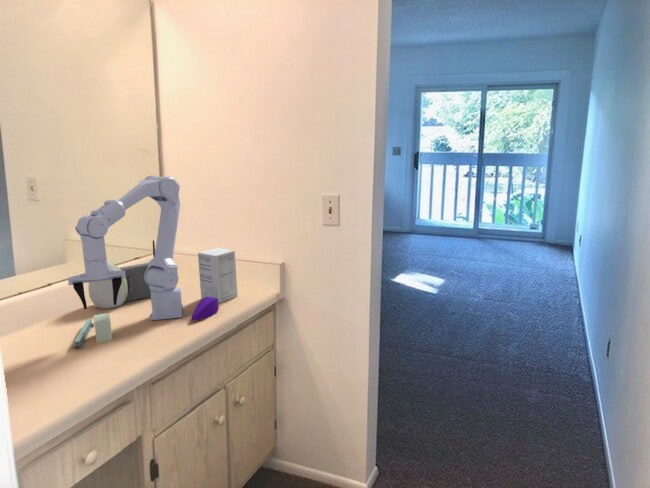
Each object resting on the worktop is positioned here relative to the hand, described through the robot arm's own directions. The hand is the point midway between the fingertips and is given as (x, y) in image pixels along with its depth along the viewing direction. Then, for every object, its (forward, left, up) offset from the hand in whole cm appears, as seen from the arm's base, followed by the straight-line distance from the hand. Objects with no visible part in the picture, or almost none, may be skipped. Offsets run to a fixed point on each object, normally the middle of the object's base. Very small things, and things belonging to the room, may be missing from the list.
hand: (100, 306), depth 144 cm
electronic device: (-7, -35, -9) cm, 37 cm away
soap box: (0, 0, -10) cm, 10 cm away
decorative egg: (+3, -30, -10) cm, 32 cm away
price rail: (+6, -2, -9) cm, 11 cm away
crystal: (-29, -10, -10) cm, 32 cm away
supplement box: (-34, -28, -10) cm, 45 cm away
